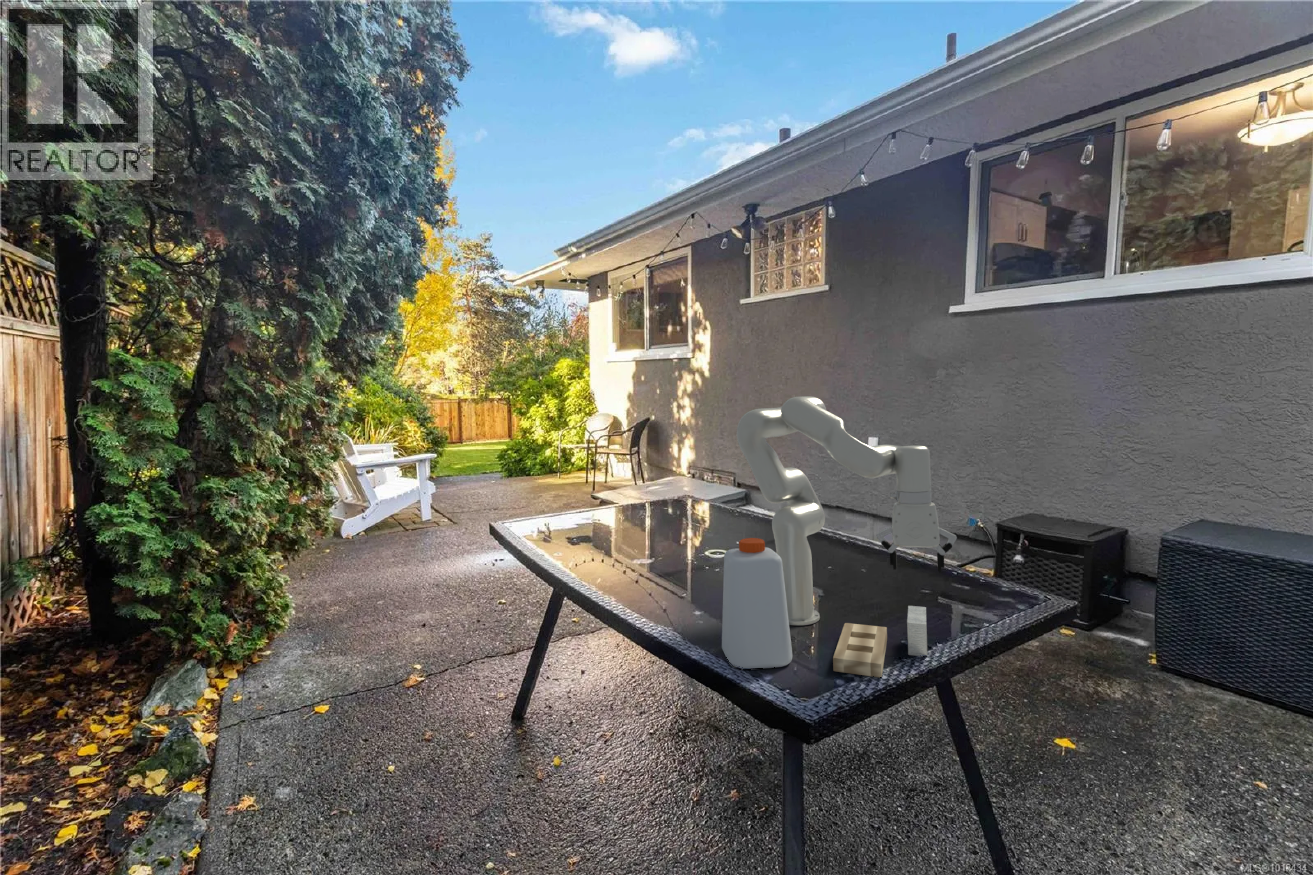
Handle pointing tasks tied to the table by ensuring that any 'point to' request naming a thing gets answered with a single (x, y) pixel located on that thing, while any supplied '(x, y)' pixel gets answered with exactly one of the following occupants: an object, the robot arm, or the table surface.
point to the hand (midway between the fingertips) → (917, 569)
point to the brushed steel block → (917, 631)
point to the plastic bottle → (755, 607)
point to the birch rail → (861, 650)
